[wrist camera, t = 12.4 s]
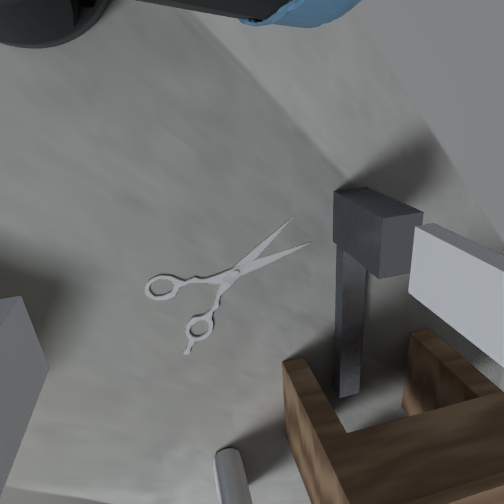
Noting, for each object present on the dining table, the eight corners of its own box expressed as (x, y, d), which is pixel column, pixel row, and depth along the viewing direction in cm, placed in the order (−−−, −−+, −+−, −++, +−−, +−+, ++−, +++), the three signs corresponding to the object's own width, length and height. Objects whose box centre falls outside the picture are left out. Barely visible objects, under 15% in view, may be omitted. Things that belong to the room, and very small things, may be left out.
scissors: (128, 295, 40) (282, 191, 40) (128, 291, 41) (280, 189, 40) (185, 355, 45) (324, 263, 44) (185, 351, 45) (322, 261, 45)
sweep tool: (333, 191, 41) (383, 218, 32) (366, 186, 42) (423, 212, 33) (330, 389, 53) (366, 449, 44) (356, 383, 54) (396, 440, 45)
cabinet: (278, 359, 49) (359, 532, 29) (432, 324, 53) (591, 456, 34) (283, 445, 55) (352, 632, 36) (420, 408, 59) (547, 558, 40)
